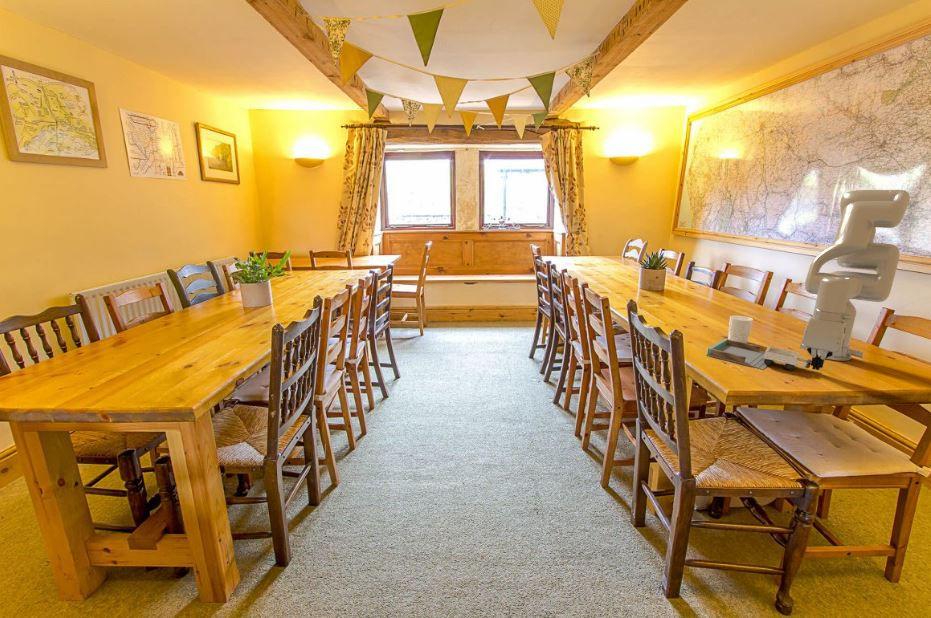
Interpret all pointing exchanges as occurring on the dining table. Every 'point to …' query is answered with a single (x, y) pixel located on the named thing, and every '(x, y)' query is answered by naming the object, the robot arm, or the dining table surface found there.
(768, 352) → the trolley
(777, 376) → the dining table surface
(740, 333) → the white cup
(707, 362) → the dining table surface
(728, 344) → the dock
